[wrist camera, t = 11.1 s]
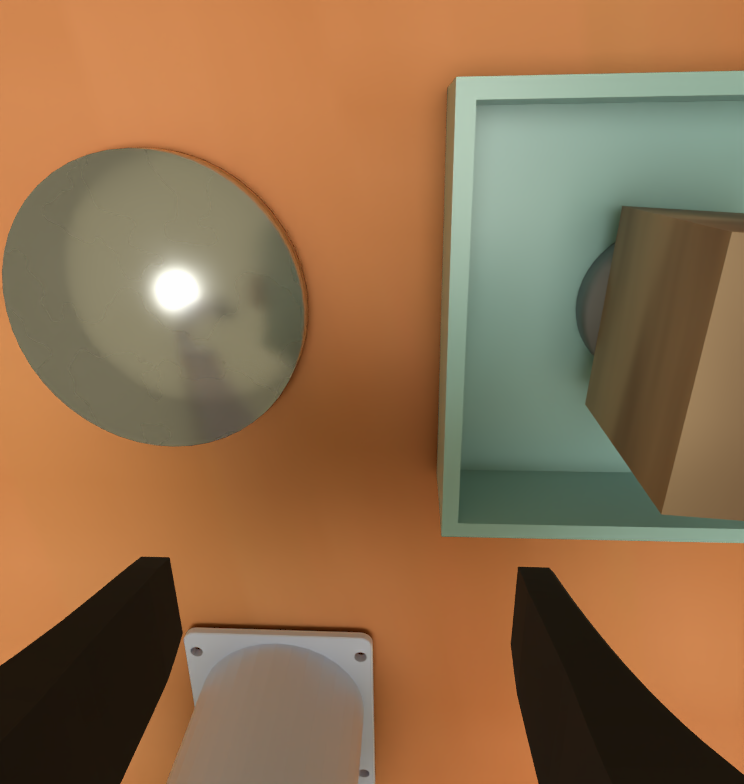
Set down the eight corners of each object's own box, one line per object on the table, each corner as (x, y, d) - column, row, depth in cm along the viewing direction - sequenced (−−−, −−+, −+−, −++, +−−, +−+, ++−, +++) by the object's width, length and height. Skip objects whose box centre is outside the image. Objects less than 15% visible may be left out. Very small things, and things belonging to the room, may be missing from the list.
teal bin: (797, 479, 23) (872, 545, 19) (436, 473, 24) (441, 536, 20) (907, 78, 18) (1036, 64, 14) (447, 88, 19) (456, 76, 15)
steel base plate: (315, 435, 23) (311, 448, 22) (53, 432, 24) (38, 444, 23) (299, 144, 19) (293, 145, 19) (-12, 149, 20) (-32, 150, 19)
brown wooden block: (755, 211, 19) (979, 247, 11) (706, 397, 21) (869, 531, 14) (593, 201, 19) (710, 230, 12) (561, 386, 21) (642, 513, 14)
